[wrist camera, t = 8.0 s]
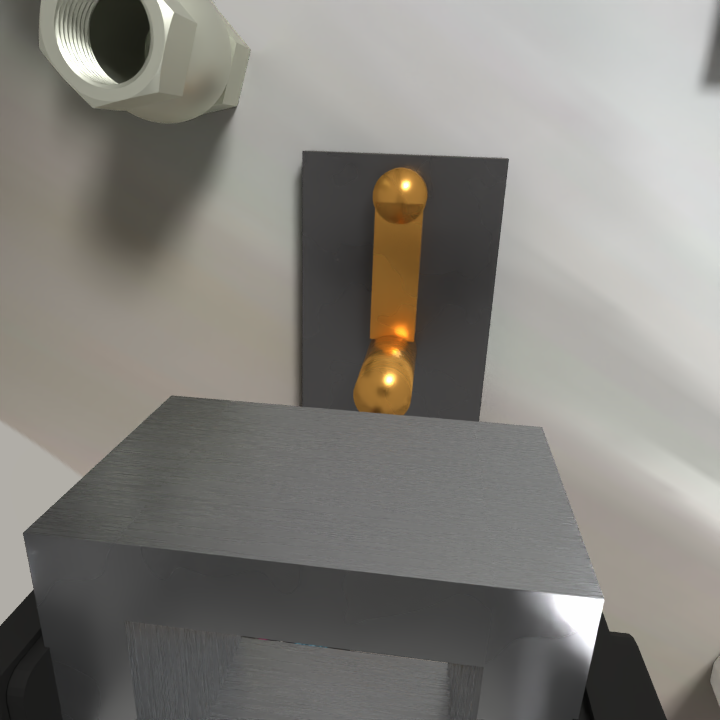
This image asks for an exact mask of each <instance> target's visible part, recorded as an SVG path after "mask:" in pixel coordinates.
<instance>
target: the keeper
mask: <svg viewBox="0 0 720 720" xmlns="http://www.w3.org/2000/svg"><path fill="white" fill-rule="evenodd" d="M508 161H509V159H507V158H488V157H461V156H435V155H409V154H382V153H356V152H330V151H303V407H311V408H323V409H335V410H347V411H358V412H370V413H382V414H394V415H405V416H417V417H429V418H440V419H452V420H464V421H476V422H479V416H480V407H481V398H482V389H483V381H484V372H485V363H486V354H487V345H488V337H489V328H490V319H491V310H492V302H493V293H494V284H495V275H496V267H497V258H498V249H499V240H500V232H501V223H502V214H503V205H504V196H505V188H506V179H507V170H508Z"/></svg>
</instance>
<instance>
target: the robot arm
mask: <svg viewBox="0 0 720 720" xmlns="http://www.w3.org/2000/svg"><path fill="white" fill-rule="evenodd" d="M0 720H63V718H62V713H61V707H60V702H59V696H58V691H57V686H56V680H55V675H54V670H53V664H52V659H51V654H50V648H49V647H45V646H44V640H43V635H42V630H41V625H40V619H39V614H38V609H37V604H36V599H35V593H34V590H33V591H32V592H31V593H30V594H29V595H28V596H27V597H26V598H25V599H24V601H23V602H22V603H21V604H20V605H19V606H18V607H17V608H16V609H15V611H14V612H13V613H12V614H11V615H10V616H9V617H8V618H7V619H6V620H5V621H4V622H3V623H2V625H1V626H0ZM572 720H667V719H666V717H665V714H664V711H663V709H662V706H661V704H660V701H659V699H658V696H657V694H656V691H655V689H654V686H653V684H652V681H651V678H650V676H649V673H648V671H647V668H646V666H645V663H644V661H643V658H642V656H641V653H640V651H639V648H638V646H637V644H636V642H635V640H634V638H633V637H632V636H631V635H630V634H626V633H618V632H610V631H609V629H608V626H607V623H606V620H605V618H604V615H603V612H602V613H601V617H600V622H599V626H598V631H597V636H596V640H595V645H594V649H593V654H592V659H591V663H590V668H589V672H588V677H587V681H586V686H585V691H584V695H583V700H582V704H581V709H580V713H579V718H578V719H572Z"/></svg>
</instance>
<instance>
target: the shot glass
mask: <svg viewBox="0 0 720 720" xmlns="http://www.w3.org/2000/svg"><path fill="white" fill-rule="evenodd" d="M710 683H711V685H712V688H713V691H714V693H715V696H716V699H717V701H718V704H719V707H720V656H719V657H718V658H717V659H716V661H715V662H714V664H713V669H712V674H711V679H710Z"/></svg>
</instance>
